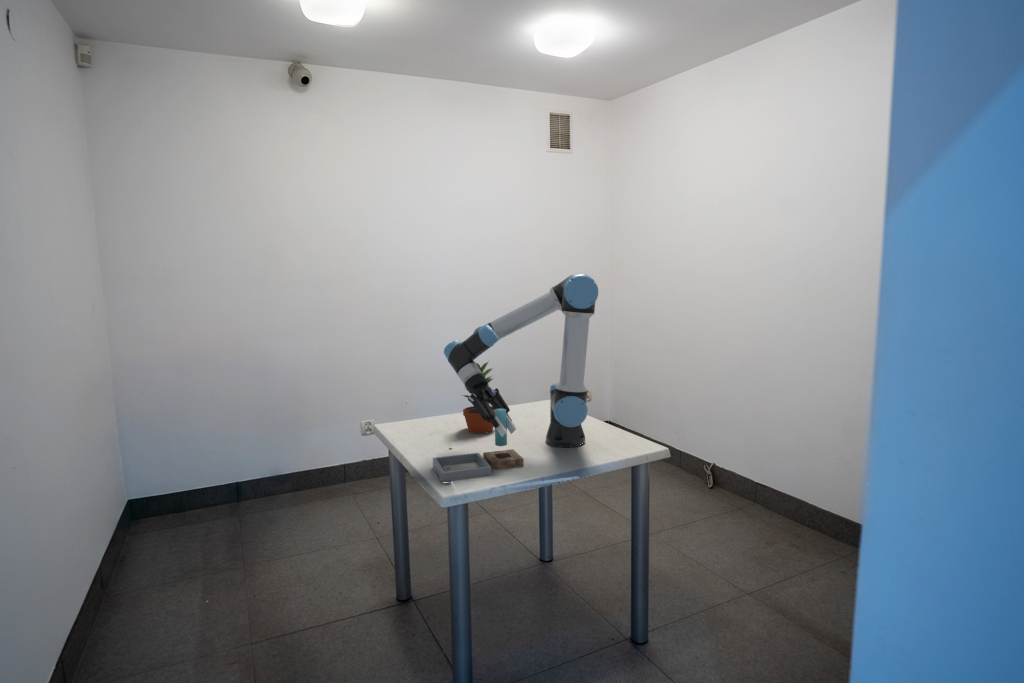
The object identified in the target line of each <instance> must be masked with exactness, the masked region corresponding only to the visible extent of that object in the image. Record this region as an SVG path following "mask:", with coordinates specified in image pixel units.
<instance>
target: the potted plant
mask: <svg viewBox="0 0 1024 683" xmlns="http://www.w3.org/2000/svg"><path fill="white" fill-rule="evenodd" d="M474 362H475V364H476V365H477V366H478V368H479V369H480V371H481V373H482V374H483V375H484V377H485V378H486V380H487V384H488V386H489V387H490V385H489V383H490V382H491V381H492V380H494V379H495V377H493V378H491V377H492V375H490V376H488V377H486V376H487V375H488V374H489V373H490V372H491V371H493V368H488V369H486V367H487V365H488V363H489V362H490V360H488V361H487V362H485V363H483V364H482V366H481V365H480V363H477V362H476V361H475V360H474ZM464 389H465V390H466V391H467V392H468V390H467V389H466V387H464ZM461 396H463V397H465V398H466V399H468V398H469V397H470V395H468V394H464V395H463V394H461ZM490 408H491V410H492V412H493V414H494V410H495V409H494V408H493V407H492V405H490ZM462 415H463V417H464V419H465V422H466V427H467V429H468V432H469V431H470V432H469V433H471V432H473V434H487V433H486V432H488V433H491V432H493V430H494V426H493V425H492V423H491V422H487V420H486V421H484V420H483V418H482V417H481V416H480V414H479V413H478V411H477V410H476V408H475V407H474V406H473V405H472V406H467V407H465V408H463V410H462ZM494 418H495V417H494ZM490 431H491V432H490Z"/></svg>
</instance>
